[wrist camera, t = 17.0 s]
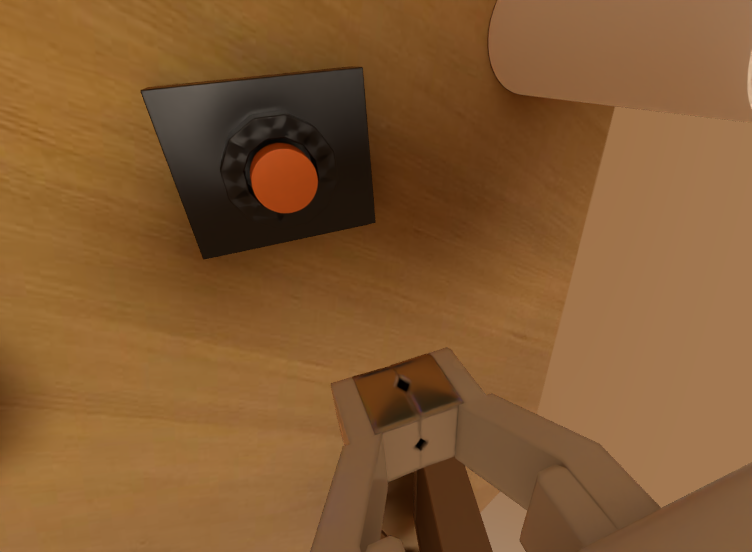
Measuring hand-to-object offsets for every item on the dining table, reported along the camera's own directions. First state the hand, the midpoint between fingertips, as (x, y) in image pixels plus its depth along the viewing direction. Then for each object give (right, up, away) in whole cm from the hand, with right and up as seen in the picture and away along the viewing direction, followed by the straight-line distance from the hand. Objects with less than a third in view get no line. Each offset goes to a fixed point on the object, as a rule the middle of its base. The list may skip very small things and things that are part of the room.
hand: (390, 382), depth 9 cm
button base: (-7, +10, +16) cm, 20 cm away
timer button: (-6, +9, +13) cm, 16 cm away
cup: (+11, +20, +17) cm, 29 cm away
